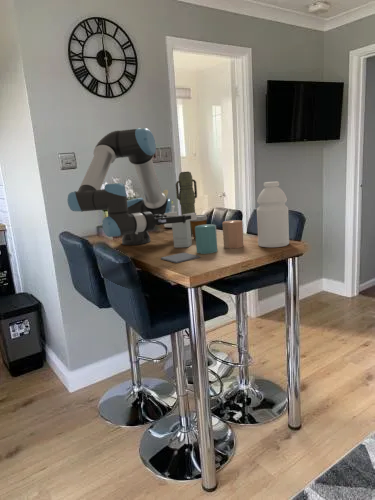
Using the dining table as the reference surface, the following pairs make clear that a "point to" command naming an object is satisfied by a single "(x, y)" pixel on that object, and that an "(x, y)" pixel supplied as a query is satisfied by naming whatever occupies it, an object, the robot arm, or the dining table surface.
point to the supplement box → (182, 234)
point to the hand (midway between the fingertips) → (186, 215)
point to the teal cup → (206, 238)
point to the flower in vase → (171, 211)
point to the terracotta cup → (233, 234)
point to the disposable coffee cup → (198, 222)
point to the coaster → (180, 257)
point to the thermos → (186, 193)
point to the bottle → (272, 217)
